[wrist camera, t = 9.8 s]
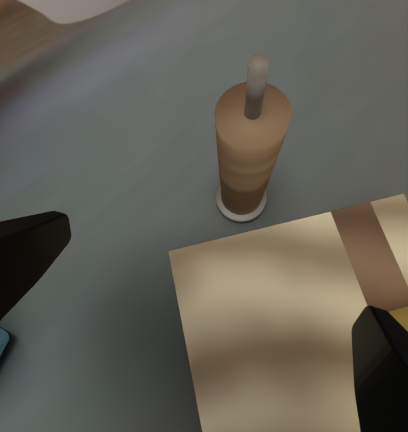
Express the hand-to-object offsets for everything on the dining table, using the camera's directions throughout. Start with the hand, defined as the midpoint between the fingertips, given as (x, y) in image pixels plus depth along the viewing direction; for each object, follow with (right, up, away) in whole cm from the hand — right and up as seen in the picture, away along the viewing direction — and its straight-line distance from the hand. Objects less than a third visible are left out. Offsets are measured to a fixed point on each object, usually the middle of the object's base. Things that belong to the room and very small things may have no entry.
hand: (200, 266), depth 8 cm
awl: (+3, +3, +14) cm, 14 cm away
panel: (+8, -8, +10) cm, 15 cm away
